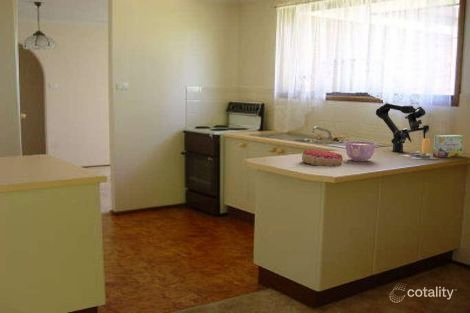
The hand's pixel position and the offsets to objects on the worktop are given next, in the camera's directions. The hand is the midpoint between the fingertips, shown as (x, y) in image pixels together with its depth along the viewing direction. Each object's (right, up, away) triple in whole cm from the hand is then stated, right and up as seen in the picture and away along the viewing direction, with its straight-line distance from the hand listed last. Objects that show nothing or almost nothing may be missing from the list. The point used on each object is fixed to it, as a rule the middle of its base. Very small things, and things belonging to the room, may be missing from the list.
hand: (417, 140), depth 364 cm
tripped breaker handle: (+2, -9, -8) cm, 12 cm away
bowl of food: (-47, -14, -25) cm, 55 cm away
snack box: (+21, -11, +1) cm, 24 cm away
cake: (-74, -15, -39) cm, 85 cm away
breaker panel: (-2, -11, -7) cm, 13 cm away
